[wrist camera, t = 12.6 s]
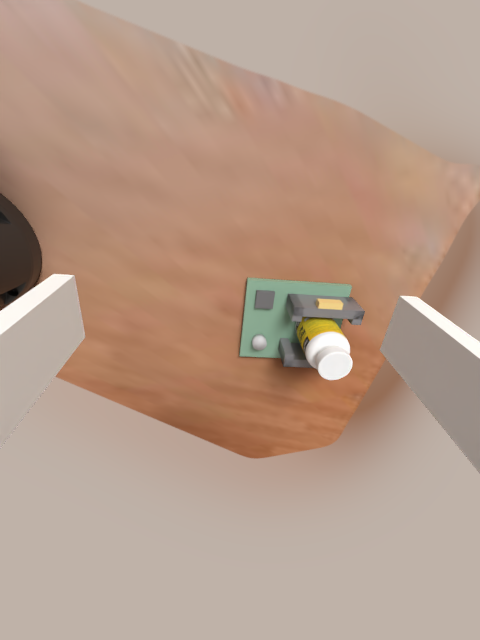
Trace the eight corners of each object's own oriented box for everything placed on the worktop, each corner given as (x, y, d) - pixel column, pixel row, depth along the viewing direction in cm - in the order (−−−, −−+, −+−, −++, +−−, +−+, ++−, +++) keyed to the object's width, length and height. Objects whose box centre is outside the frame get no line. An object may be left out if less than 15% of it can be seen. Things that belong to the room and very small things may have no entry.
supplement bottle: (290, 313, 42) (308, 353, 33) (329, 302, 42) (357, 341, 33) (297, 344, 45) (316, 389, 36) (334, 335, 44) (361, 378, 36)
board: (239, 353, 46) (240, 361, 44) (247, 277, 40) (248, 283, 38) (329, 357, 47) (334, 364, 45) (349, 284, 41) (355, 289, 40)
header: (278, 349, 45) (283, 366, 41) (288, 287, 40) (295, 301, 37) (336, 351, 46) (346, 369, 42) (353, 292, 41) (366, 305, 37)
